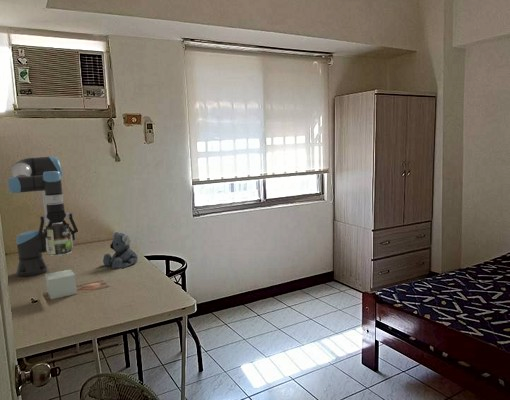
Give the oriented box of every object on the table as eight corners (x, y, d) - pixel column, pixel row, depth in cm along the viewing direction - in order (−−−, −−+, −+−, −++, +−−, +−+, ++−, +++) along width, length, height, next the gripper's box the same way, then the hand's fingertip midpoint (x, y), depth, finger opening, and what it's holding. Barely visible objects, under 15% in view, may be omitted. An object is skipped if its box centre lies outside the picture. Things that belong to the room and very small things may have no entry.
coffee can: (76, 250, 202) (73, 222, 200) (65, 256, 191) (62, 226, 190) (55, 251, 202) (52, 223, 200) (44, 256, 192) (40, 227, 190)
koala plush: (101, 265, 238) (98, 232, 235) (130, 258, 250) (127, 227, 248) (115, 271, 225) (112, 236, 223) (144, 263, 238) (141, 230, 235)
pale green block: (47, 292, 190) (45, 274, 189) (72, 287, 197) (70, 269, 195) (50, 299, 181) (48, 280, 180) (77, 293, 188) (75, 274, 186)
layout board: (43, 295, 191) (43, 292, 190) (103, 282, 206) (102, 279, 205) (47, 304, 180) (47, 300, 180) (110, 289, 195) (109, 286, 195)
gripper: (28, 207, 184) (34, 254, 187) (81, 201, 197) (86, 246, 199) (27, 205, 191) (32, 251, 193) (78, 200, 203) (83, 243, 206)
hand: (60, 249), depth 196 cm, fingers closed on coffee can, 10 cm apart
